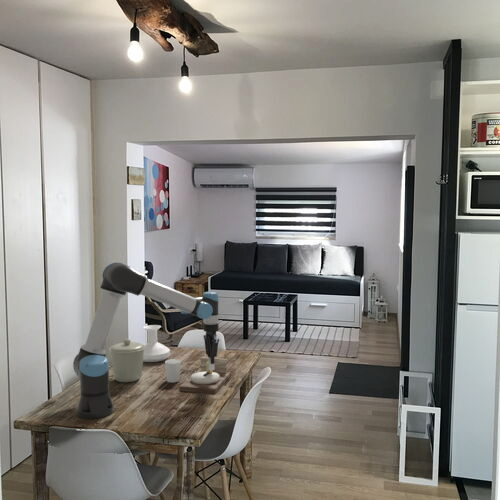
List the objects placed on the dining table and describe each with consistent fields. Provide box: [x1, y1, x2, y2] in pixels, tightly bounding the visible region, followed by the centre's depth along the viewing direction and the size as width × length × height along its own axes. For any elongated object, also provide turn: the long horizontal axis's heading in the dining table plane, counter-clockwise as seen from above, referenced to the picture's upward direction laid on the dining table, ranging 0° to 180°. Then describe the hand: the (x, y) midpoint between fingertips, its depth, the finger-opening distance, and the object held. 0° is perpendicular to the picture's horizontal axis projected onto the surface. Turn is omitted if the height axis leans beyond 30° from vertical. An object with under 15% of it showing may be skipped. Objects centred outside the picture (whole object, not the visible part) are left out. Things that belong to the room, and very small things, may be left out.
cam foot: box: [190, 362, 219, 384], centre depth 260 cm, size 14×14×8 cm
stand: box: [178, 356, 232, 394], centre depth 262 cm, size 27×18×9 cm, turn 166°
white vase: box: [142, 324, 171, 363], centre depth 304 cm, size 20×20×19 cm
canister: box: [108, 338, 145, 383], centre depth 268 cm, size 18×18×21 cm
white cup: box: [164, 358, 182, 384], centre depth 266 cm, size 8×8×10 cm
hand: (211, 369), depth 262 cm, fingers closed
